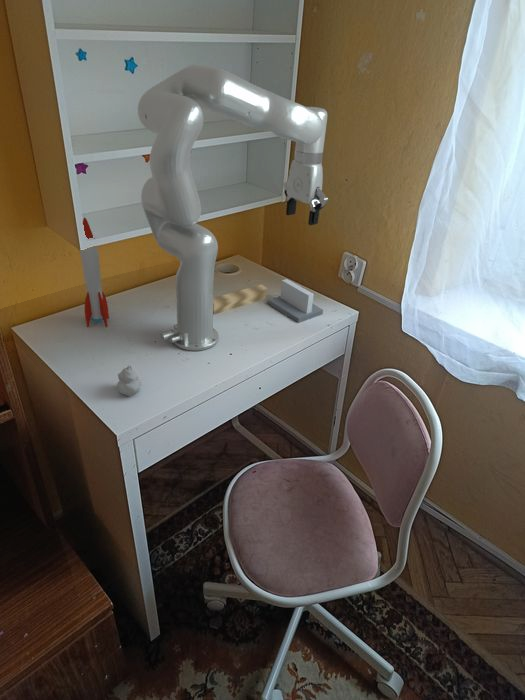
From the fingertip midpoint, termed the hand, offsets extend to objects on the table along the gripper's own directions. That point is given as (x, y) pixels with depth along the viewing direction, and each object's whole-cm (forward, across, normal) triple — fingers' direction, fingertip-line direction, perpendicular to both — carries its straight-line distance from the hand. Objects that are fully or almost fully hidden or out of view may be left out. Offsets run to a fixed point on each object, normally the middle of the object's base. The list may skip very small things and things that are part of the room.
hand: (301, 219), depth 145 cm
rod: (+27, -7, -16) cm, 32 cm away
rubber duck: (+27, +15, -63) cm, 70 cm away
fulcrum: (+26, +5, -3) cm, 27 cm away
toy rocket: (+27, -18, -57) cm, 65 cm away
